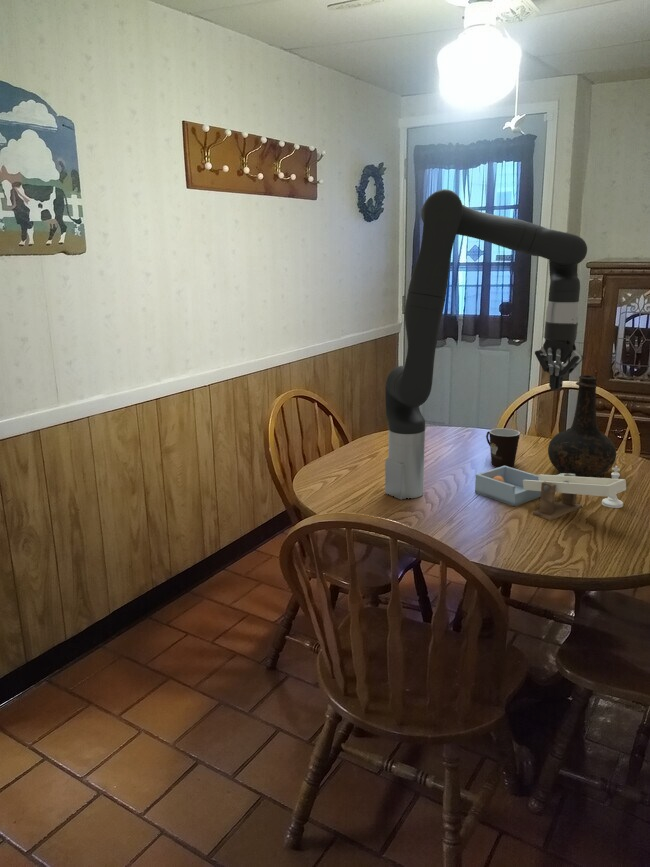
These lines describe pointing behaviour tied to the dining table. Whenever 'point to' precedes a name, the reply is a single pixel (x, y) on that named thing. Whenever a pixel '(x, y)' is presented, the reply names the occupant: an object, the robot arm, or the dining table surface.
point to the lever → (578, 485)
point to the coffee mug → (503, 446)
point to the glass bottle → (583, 438)
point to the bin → (506, 485)
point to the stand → (557, 509)
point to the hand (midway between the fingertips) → (555, 389)
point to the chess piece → (613, 500)
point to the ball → (499, 478)
